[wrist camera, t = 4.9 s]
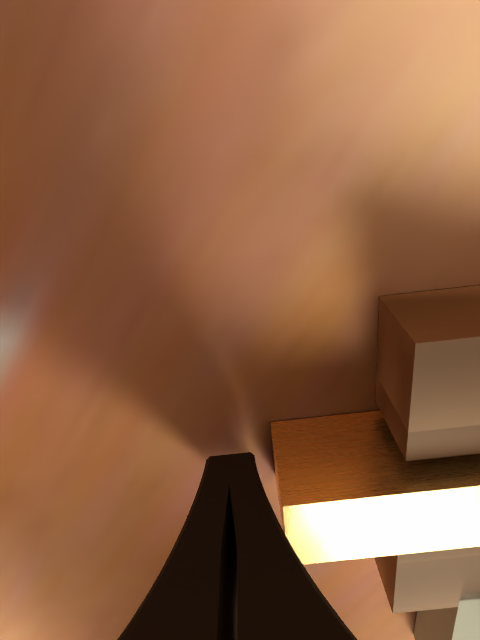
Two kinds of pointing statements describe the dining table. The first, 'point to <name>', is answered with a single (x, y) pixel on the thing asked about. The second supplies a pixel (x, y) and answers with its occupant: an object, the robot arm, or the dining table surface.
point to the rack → (450, 621)
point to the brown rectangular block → (369, 491)
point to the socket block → (430, 423)
